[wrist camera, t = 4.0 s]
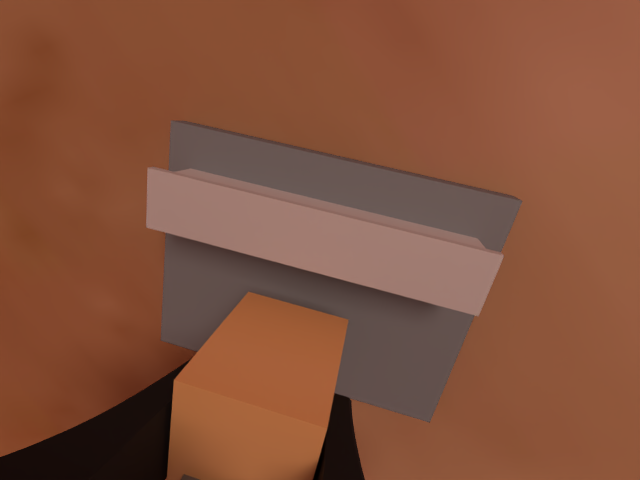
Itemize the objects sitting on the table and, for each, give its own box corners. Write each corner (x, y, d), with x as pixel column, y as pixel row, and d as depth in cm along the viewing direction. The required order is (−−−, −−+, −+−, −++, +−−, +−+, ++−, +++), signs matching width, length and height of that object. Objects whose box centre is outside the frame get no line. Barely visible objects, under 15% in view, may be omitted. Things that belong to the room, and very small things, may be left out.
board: (512, 195, 13) (557, 220, 10) (427, 406, 17) (437, 478, 14) (184, 121, 15) (121, 119, 11) (172, 329, 19) (121, 377, 15)
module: (348, 319, 13) (325, 438, 8) (321, 418, 15) (289, 568, 10) (248, 291, 13) (166, 388, 8) (233, 391, 15) (158, 520, 10)
